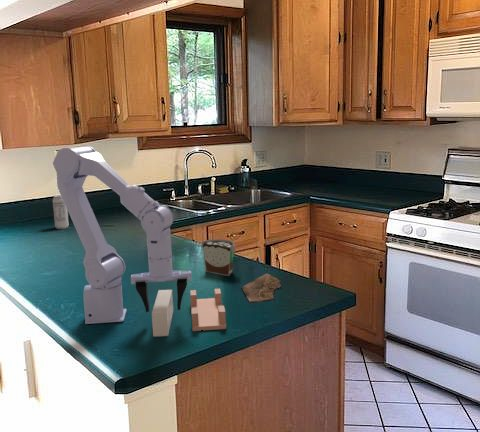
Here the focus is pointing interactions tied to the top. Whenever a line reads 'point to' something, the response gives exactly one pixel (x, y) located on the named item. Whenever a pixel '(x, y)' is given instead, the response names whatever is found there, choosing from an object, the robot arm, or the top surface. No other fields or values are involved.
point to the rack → (207, 312)
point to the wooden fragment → (261, 288)
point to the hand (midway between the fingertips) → (163, 309)
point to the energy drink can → (60, 213)
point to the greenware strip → (162, 313)
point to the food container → (218, 256)
